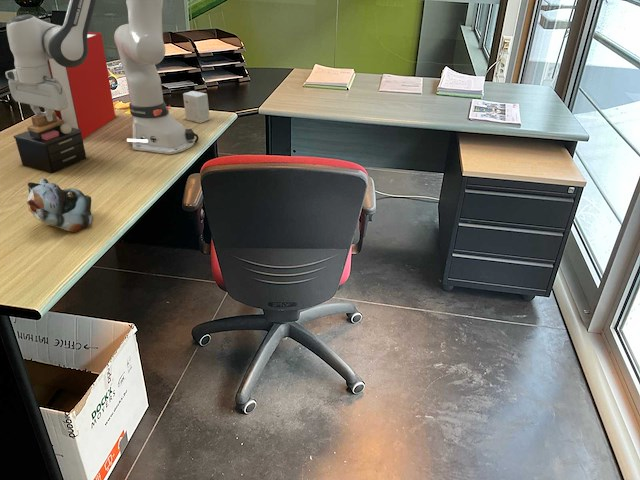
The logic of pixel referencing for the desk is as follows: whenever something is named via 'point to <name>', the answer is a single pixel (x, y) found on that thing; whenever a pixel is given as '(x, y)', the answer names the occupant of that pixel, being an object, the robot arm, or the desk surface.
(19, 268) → the desk surface
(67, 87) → the book
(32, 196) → the lucky cat figurine
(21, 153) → the cabinet
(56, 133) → the eraser
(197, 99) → the small box
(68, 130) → the egg
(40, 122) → the brush
